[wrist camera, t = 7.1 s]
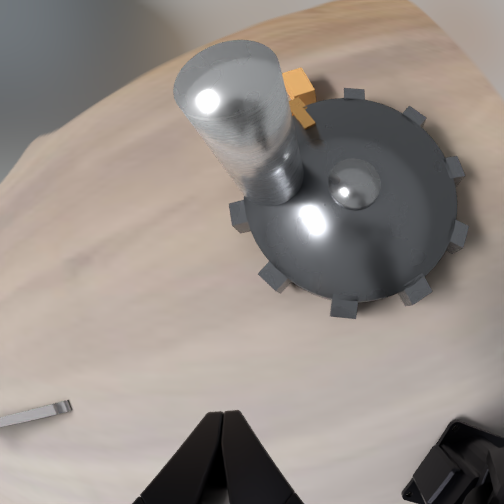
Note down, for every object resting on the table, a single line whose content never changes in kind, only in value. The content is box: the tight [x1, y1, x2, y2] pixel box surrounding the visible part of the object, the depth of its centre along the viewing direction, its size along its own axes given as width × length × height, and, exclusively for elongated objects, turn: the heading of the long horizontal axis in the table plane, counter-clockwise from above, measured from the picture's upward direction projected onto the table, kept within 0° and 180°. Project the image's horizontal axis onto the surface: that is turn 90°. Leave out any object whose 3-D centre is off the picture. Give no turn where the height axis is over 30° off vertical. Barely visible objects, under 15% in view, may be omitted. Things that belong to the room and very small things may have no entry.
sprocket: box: [173, 40, 469, 319], centre depth 14 cm, size 15×14×11 cm
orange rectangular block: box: [282, 68, 316, 105], centre depth 21 cm, size 3×2×2 cm, turn 17°
